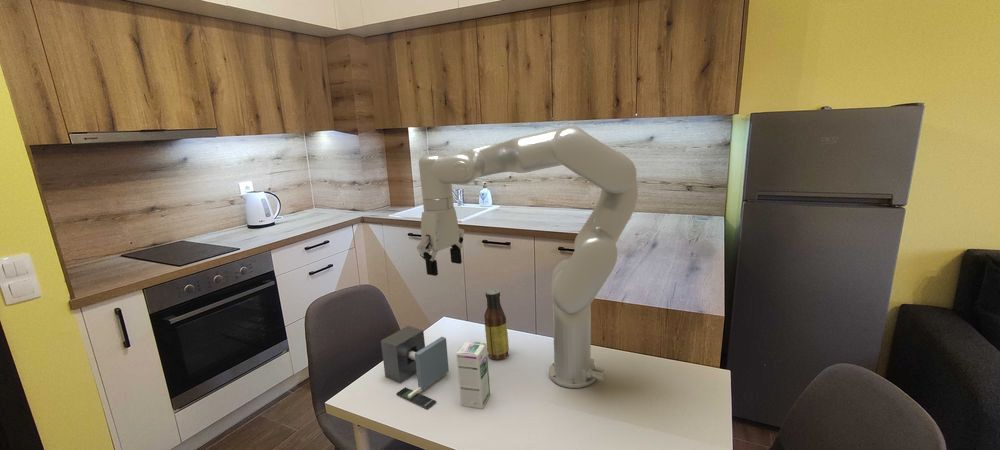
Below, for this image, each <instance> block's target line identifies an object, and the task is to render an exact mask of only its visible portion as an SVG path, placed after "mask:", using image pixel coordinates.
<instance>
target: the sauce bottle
mask: <svg viewBox="0 0 1000 450" xmlns="http://www.w3.org/2000/svg"><path fill="white" fill-rule="evenodd" d="M500 296H501V291H500V290H499V289H488V290H486V291H485V297H486V310H485V312H484V315H483V316H484V317H483V318H484V329H485V330H484V331H485V338H486V339H485V340H486V341H485V342H486V348H487V356H488V357H489V358H490V359H493V360H495V361H496V360H497V361H498V360H500V361H501V360H503V359H506V358H507V357H508V356H509V348H510V347H509V336H508V325H507V317H506V314H505V313H504V309H503V307H502V304H501V299H500V298H501V297H500Z"/></svg>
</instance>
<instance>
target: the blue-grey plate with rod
mask: <svg viewBox="0 0 1000 450" xmlns="http://www.w3.org/2000/svg"><path fill="white" fill-rule="evenodd" d="M447 345H448V344H447V337H445V336H441V337H438V338H437V339H435V340H434V341H432V342H430V343H429V344H427V345H425V347H424V348H423V349H421V350H419V351H418V352H414V351H411V350H408V351H406V353H407V357H408V358H410V359H413V360H415V361H416V370H417V373H416V376H417V377H416V378H417V385H418V387H417V388H416V389H414V390H413V392H411V393H410V394H408V397H409V398H411V397H412V396H414V395H415V394H417V393H420V392H421V391H424V390H425V389H426V388H428V387H429V386H431V385H432V384H434V383H435V382H437V381H439V379H441V378H442V377H443V376H445V375H446V374H448V373H449V370H450V368H449V357H448V347H447Z"/></svg>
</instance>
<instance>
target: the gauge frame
mask: <svg viewBox="0 0 1000 450" xmlns="http://www.w3.org/2000/svg"><path fill="white" fill-rule="evenodd" d="M424 332H425V331H424V330H423V329H420V328H418V327H417V328H416V327H413V326H410V325H407V326H405V327H403V328H401V329H399V330H398V331H396V332H393V333H392V334H391V335H388V336H387V337H385V338H383V339H382V340H380V346H381V354H382V360H383V368H384V370H383V371H384V377H385V378H387V379H389V380H391V381H393V382H395V383H398V384H400V385H401V384H402V383H404V382H406V381H407V380H408V379H409V378H411V377H412V376H414V375H417V370H416V361H415V360H413V359H410V358H408V357H407V353H406V351H408V350H411V351H414V352H418V351H419V350H421V349H423V348H424V347H426V344H425V333H424ZM413 391H414V390H413V389H410V388H409V387H405V386H404V387H403V388H402V389H400V390H399V391H397V392H396V396H398V397H400V398H402V399H404V400H406V401H408V402H409V403H410V402H411V403H412V404H415V405H416V406H419V407H421V408H423V409H426V410H429V409H431V408H432V407H434V406H435V405H436V404H437V400H435V399H433V398H430V397H429V396H428V397H427V396H425V395H424V394H421V393H420V392H418V393H417V394H415V395H414V396H412V397H411V398H409V397H408V394H410V393H411V392H413Z"/></svg>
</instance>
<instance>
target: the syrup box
mask: <svg viewBox="0 0 1000 450" xmlns="http://www.w3.org/2000/svg"><path fill="white" fill-rule="evenodd" d="M455 356H456V364H457V365H456V367H457V375H458V376H457V377H458V385H459V395H460V404H461V406H463V407H467V408H474V409H481V410H482V409H484V407H485V405H486V404H487V401H488V400H489V398H490V397H491V389H490V388H491V387H490V376H489V363H488V362H489V361H488V351H487V343H485V342H481V341H479V342H478V341H466V340H465V341H464V342H463V345H462V346H460V348H459V349H458V351H457V352H456V353H455Z"/></svg>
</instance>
